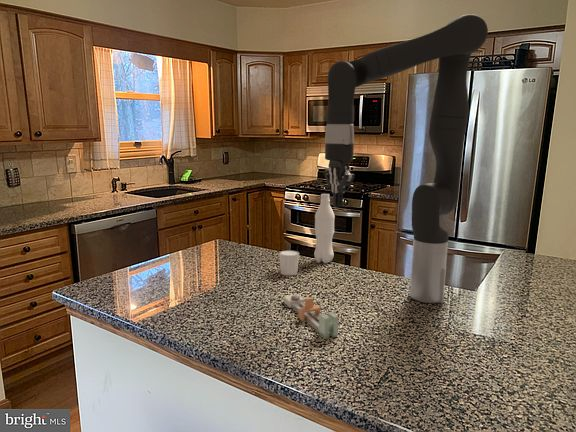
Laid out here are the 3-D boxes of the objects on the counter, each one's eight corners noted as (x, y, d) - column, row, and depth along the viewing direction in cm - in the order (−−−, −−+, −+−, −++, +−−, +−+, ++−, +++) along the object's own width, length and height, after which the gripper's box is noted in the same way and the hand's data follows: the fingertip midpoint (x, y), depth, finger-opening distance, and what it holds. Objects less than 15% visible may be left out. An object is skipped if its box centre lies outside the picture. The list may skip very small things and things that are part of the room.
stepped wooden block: (298, 318, 109) (299, 299, 108) (316, 314, 111) (317, 296, 110) (302, 321, 107) (302, 301, 106) (320, 318, 109) (320, 298, 108)
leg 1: (291, 308, 115) (291, 290, 114) (295, 307, 116) (295, 290, 115) (324, 339, 98) (325, 318, 97) (329, 338, 99) (330, 317, 98)
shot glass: (297, 276, 141) (297, 256, 139) (276, 275, 142) (276, 255, 141) (300, 270, 147) (300, 250, 146) (281, 268, 148) (281, 249, 147)
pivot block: (283, 302, 119) (283, 294, 119) (298, 300, 121) (298, 292, 120) (289, 308, 115) (289, 299, 115) (304, 305, 117) (304, 297, 117)
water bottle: (311, 262, 155) (312, 195, 151) (317, 257, 162) (318, 192, 157) (330, 265, 153) (332, 196, 148) (335, 259, 159) (337, 193, 154)
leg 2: (299, 306, 116) (299, 289, 115) (304, 306, 117) (304, 288, 116) (332, 337, 99) (333, 317, 98) (337, 336, 99) (338, 316, 98)
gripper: (315, 141, 117) (314, 203, 121) (339, 142, 105) (337, 211, 109) (339, 141, 120) (337, 202, 124) (365, 142, 108) (362, 209, 112)
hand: (337, 206), depth 116 cm, fingers closed
